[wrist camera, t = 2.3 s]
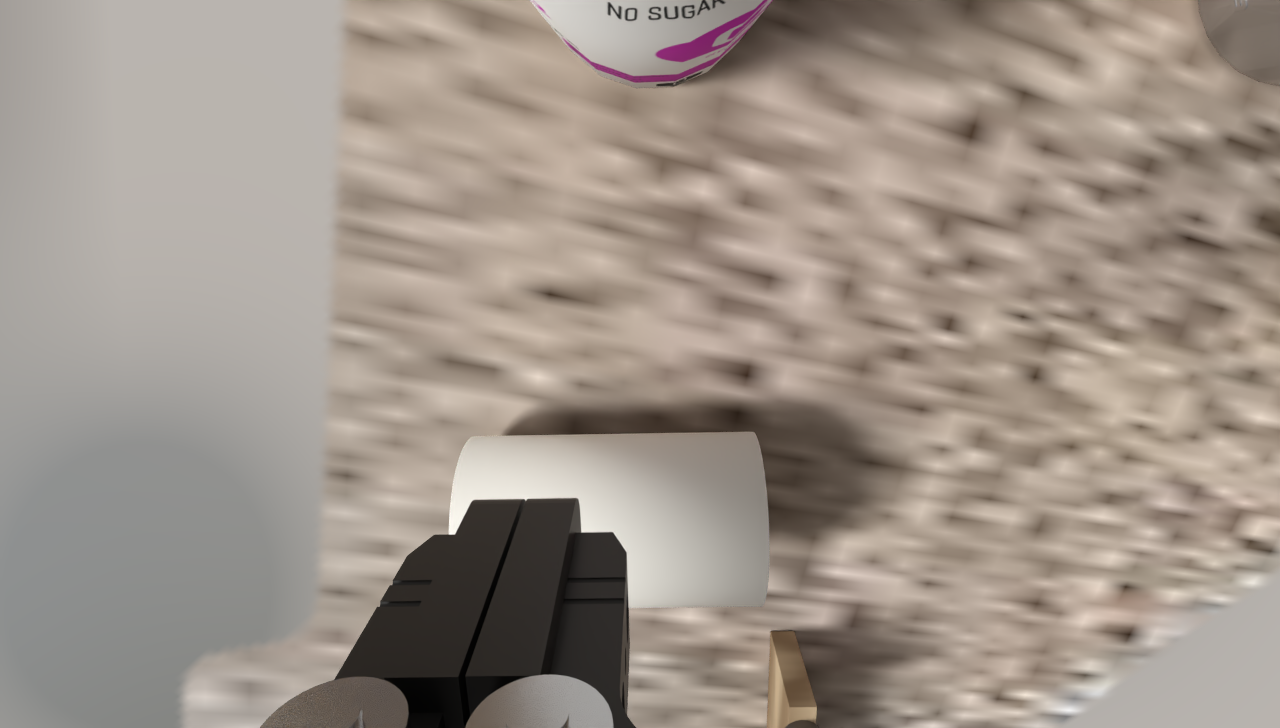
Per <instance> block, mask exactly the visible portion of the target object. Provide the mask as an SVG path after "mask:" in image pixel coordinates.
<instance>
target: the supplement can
mask: <svg viewBox="0 0 1280 728" xmlns="http://www.w3.org/2000/svg"><path fill="white" fill-rule="evenodd" d="M530 1H531V3H532V4H533V5H534V6H535V7H536V9H537V10H538V11H539V12H540V14H541V15H542V16H543V17H544V19H545V20H546V21H547V22H548V23H549V25H550V26H551V27H552V28H553V30H554V31H555V32H556V33H557V35H558V36H559V37H560V38H561V39H562V41H563V42H564V43H565V44H566V46H567V47H568V48H569V49H570V51H571V52H573V53H574V54H575V55H576V56H577V57H579V58H580V59H581V60H582V61H583V62H585V63H586V64H587V65H588V66H589V67H591V68H592V69H593V70H594V71H595V72H597V73H598V74H599V75H600V76H602V77H605V78H608V79H611V80H614V81H616V82H619V83H622V84H625V85H628V86H631V87H634V88H658V87H674V86H676V85H679V84H681V83H683V82H686V81H688V80H690V79H692V78H695V77H697V76H699V75H702V74H704V73H706V72H708V71H709V70H710V69H711V68H712V67H713V66H714V65H715V64H717V63H718V62H719V61H720V60H721V59H722V58H723V57H724V56H725V55H726V54H727V53H728V52H729V51H730V50H731V49H732V48H733V47H734V46H735V45H736V44H737V43H738V42H739V41H740V40H741V38H742V37H743V36H744V35H745V34H746V32H747V31H748V30H749V29H750V28H751V26H752V25H753V24H754V23H755V22H756V20H757V19H758V18H759V17H760V15H761V14H762V13H763V12H764V11H765V9H766V8H767V7H768V6H769V5H770V3H771V2H772V1H773V0H530Z"/></svg>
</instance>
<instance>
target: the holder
mask: <svg viewBox="0 0 1280 728" xmlns="http://www.w3.org/2000/svg"><path fill="white" fill-rule="evenodd" d="M816 714H817V706H816V702H815V699H814V696H813V692H812V689H811V686H810V682H809V679H808V675H807V672H806V669H805V665H804V662H803V659H802V655H801V652H800V649H799V645H798V642H797V638H796V635H795V632H794V631H771V634H770V660H769V686H768V711H767V728H819V727H818V726H817V725H816Z"/></svg>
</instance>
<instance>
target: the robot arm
mask: <svg viewBox="0 0 1280 728" xmlns="http://www.w3.org/2000/svg"><path fill="white" fill-rule="evenodd" d="M1198 4H1199V13H1200V16H1201V19H1202V22H1203V25H1204V28H1205V30H1206V33H1207V36H1208V38H1209V39H1210V41H1211V42H1212V44H1213V45H1214V47H1215V48H1216V50H1217V52H1218V53H1219V55H1220V56H1221V57H1222V58H1223V59H1224V60H1225V61H1227V62H1228V63H1229V64H1230V65H1231V66H1232V67H1233V68H1235V69H1236V70H1237V71H1238V72H1240V73H1242V74H1244V75H1246V76H1248V77H1250V78H1253V79H1255V80H1257V81H1259V82H1264V83H1269V84H1274V85H1279V86H1280V0H1198ZM380 602H381V604H380V607H377V608H376V610H375V612H374V613H373V615H372V617H371V618H370V620H369V622H368V624H367V625H366V627H365V629H364V630H363V632H362V634H361V635H360V637H359V639H358V640H357V642H356V644H355V646H354V647H353V649H352V651H351V652H350V654H349V656H348V657H347V659H346V661H345V663H344V664H343V666H342V668H341V669H340V671H339V673H338V674H337V676H336V678H335V679H334V680H333V681H329V682H326V683H323V684H321V685H318V686H315V687H313V688H311V689H309V690H307V691H305V692H302V693H301V694H299V695H297V696H296V697H294V698H292V699H291V700H289V701H288V702H287V703H285V704H284V705H282V706H281V707H280V708H279V709H277V710H276V711H275V712H274V713H273V714H272V715H271V716H270V717H269V718H268V719H267V720H266V721H265V722H264V723H263V725H262V726H261V727H260V728H636V727H635V726H634V725H633V724H632V722H631V721H630V719H629V718H628V717H627V705H628V672H629V649H630V638H629V607H628V576H627V552H626V551H625V549H624V548H623V546H622V545H621V543H620V542H619V540H618V539H617V537H616V536H615V534H614V533H613V532H582V533H581V517H580V505H579V500H578V498H542V499H527V500H526V501H525V499H487V500H473V501H472V502H471V504H470V505H469V507H468V509H467V511H466V513H465V515H464V517H463V519H462V521H461V523H460V525H459V527H458V529H457V531H456V533H455V535H433V536H432V537H431V538H430V539H428V540H427V541H426V542H424V543H423V544H422V545H421V546H419V547H418V548H417V549H415V550H414V551H413V552H412V553H410V554H409V555H408V556H407V557H406V559H405V561H404V562H403V564H402V566H401V568H400V569H399V571H398V573H397V574H396V576H395V578H394V579H393V585H390V586H389V588H388V590H387V591H386V593H385V595H384V596H383V598H382V600H381V601H380Z"/></svg>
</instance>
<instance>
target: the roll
mask: <svg viewBox="0 0 1280 728" xmlns="http://www.w3.org/2000/svg"><path fill="white" fill-rule="evenodd" d="M542 498H578V500H579V505H580V517H581V533H582V532H613V533H614V534H615V536H616V537H617V539H618V540H619V542H620V543H621V545H622V546H623V548H624V549H625V551H626V552H627V576H628V607H629V608H680V607H762V606H763V605H764V602H765V599H766V595H767V588H768V578H769V550H770V548H769V515H768V500H767V489H766V480H765V472H764V465H763V459H762V454H761V449H760V445H759V441H758V439H757V436H756V434H755V433H754V432H701V433H639V434H578V435H516V436H473V437H471V438H469V440H468V441H467V442H466V444H465V445H464V447H463V449H462V452H461V454H460V457H459V460H458V464H457V467H456V471H455V476H454V481H453V487H452V494H451V503H450V515H449V535H455V533H456V531H457V529H458V527H459V525H460V523H461V521H462V519H463V517H464V515H465V513H466V511H467V509H468V507H469V505H470V504H471V502H472V501H473V500H487V499H525V501H526V500H527V499H542Z"/></svg>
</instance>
